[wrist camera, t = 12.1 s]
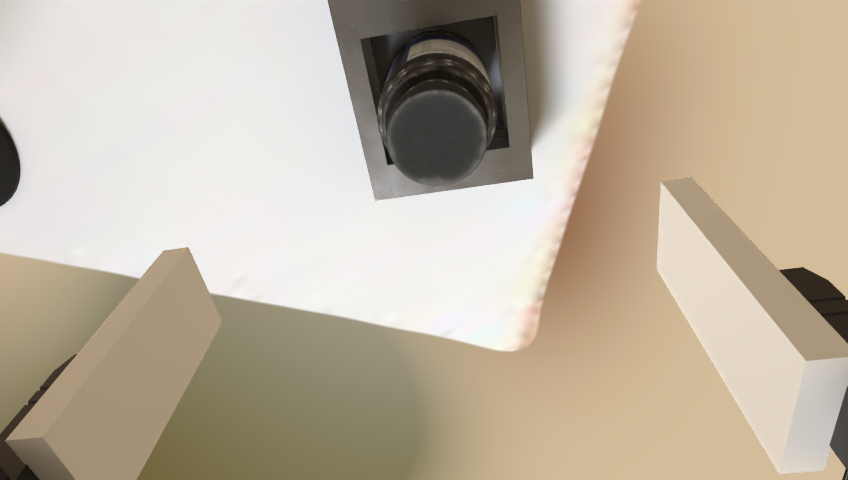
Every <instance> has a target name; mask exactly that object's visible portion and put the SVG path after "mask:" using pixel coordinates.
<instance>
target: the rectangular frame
mask: <svg viewBox="0 0 848 480" xmlns="http://www.w3.org/2000/svg"><path fill="white" fill-rule="evenodd" d="M328 4H329V8H330V12H331V17H332V21H333V25H334V29H335V33H336V38H337V42H338V46H339V50H340V54H341V59H342V63H343V67H344V71H345V75H346V80H347V84H348V88H349V92H350V96H351V101H352V105H353V109H354V113H355V117H356V122H357V126H358V130H359V134H360V138H361V143H362V147H363V151H364V155H365V159H366V164H367V168H368V172H369V176H370V180H371V185H372V189H373V193H374V197H375V201H376V200H383V199H390V198H397V197H404V196H412V195H419V194H426V193H433V192H440V191H447V190H454V189H462V188H469V187H476V186H483V185H490V184H497V183H504V182H512V181H519V180H526V179H533V167H532V154H531V141H530V127H529V114H528V101H527V88H526V74H525V61H524V48H523V35H522V21H521V8H520V0H328ZM489 16H493V20H494V30H495V40H496V50H497V60H498V70H499V80H500V90H501V100H502V110H503V120H504V128H501V129H495V133H494V135H493V138H492V141H491V142H490V144H489V146H488V148H487V149H486V152H485V154H484V157H483V159H482V161H481V162H480V164H479V165H478V167H477V168H476V169H475V170H474V171H473V172H472V173H471V174H470V175H469V176H467V177H466V178H464V179H463V180H460V181H459V182H456V183H454V184H451V185H446V186H428V185H424V184H420V183H417V182H415V181H413V180H411V179H409V178H408V177H406V176H405V175H403V173H402V172H400V171H399V170H398V168H397V167H396V166H395V164H394V163H393V161H392V160H391V157H390V155H389V152H388V149H387V147H386V146H385V144H384V142H383V140H382V137H381V135H380V132H379V129H378V122H377V109H378V104H379V99H380V96H381V90H380V85H379V80H378V75H377V70H376V66H375V61H374V56H373V51H372V47H371V42H370V37H375V36H380V35H386V34H392V33H398V32H403V31H409V30H415V29H420V28H426V27H432V26H438V25H443V24H449V23H455V22H461V21H466V20H472V19H478V18H484V17H489Z"/></svg>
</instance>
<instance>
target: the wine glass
mask: <svg viewBox="0 0 848 480" xmlns="http://www.w3.org/2000/svg"><path fill="white" fill-rule="evenodd" d="M19 177H20V166H19V160H18V156H17V152H16V149H15V147H14V144H13V142H12V140H11V138H10V136H9V135H8V133H7V131H6V130H5V128H4V127H3V125H2V124H1V123H0V206H2V205H3V204H5V203H6V202H7V201H8V200H9V199H10V198H12V196H13V194H14V193H15V191H16V189H17V186H18V183H19Z"/></svg>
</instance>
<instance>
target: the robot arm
mask: <svg viewBox="0 0 848 480" xmlns="http://www.w3.org/2000/svg"><path fill="white" fill-rule="evenodd" d="M657 271H658V272H659V274H660V276H661V277H662V279H663V281H664V282H665V284H666V286H667V287H668V289H669V291H670V292H671V294H672V296H673V297H674V299H675V300H676V302H677V304H678V306H679V307H680V309H681V311H682V312H683V314H684V316H685V317H686V319H687V321H688V322H689V324H690V326H691V327H692V329H693V331H694V332H695V334H696V336H697V337H698V339H699V341H700V342H701V344H702V346H703V348H704V349H705V351H706V352H707V354H708V356H709V357H710V359H711V361H712V363H713V364H714V366H715V368H716V369H717V371H718V373H719V374H720V376H721V377H722V379H723V381H724V383H725V384H726V386H727V387H728V389H729V391H730V393H731V394H732V396H733V398H734V399H735V401H736V403H737V404H738V406H739V408H740V409H741V411H742V413H743V414H744V416H745V418H746V419H747V421H748V423H749V424H750V426H751V428H752V429H753V431H754V433H755V434H756V436H757V438H758V439H759V441H760V443H761V445H762V446H763V448H764V450H765V451H766V453H767V454H768V456H769V458H770V460H771V461H772V463H773V465H774V466H775V468H776V470H777V471H778V473H779V474H783V473H797V472H810V471H822V470H825V466H826V463H827V460H828V457H829V454H830V450H831V448H832V450H833V451H834V452H835V454H836V455H837V457H838V458H839V459H840V461H841V462H842V463H843V465H844V466H845V468H846V470H845V473H844V476H843V479H842V480H848V300H846V299H845V296H844V295H843V294H842V293H841V292H840V291H839V290H838V289H837V288H836V287H834V286H833V284H831V283H830V282H829V281H828V280H827V279H825V278H822V277H821V276H819V275H817V274H815V273H813V272H811V271H809V270H807V269H805V268H803V267H802V268H793V269H784V270H778V269H777V268H776V267H775V266H774V265H773V264H772V263H771V262H770V260H769V259H768V258H767V257H766V256H765V255H764V254H763V253H762V252H761V251H760V250H759V249H758V248H757V247H756V245H755V244H753V242H752V241H751V240H750V239H749V238H748V237H747V236H746V235H745V234H744V233H743V232H742V231H741V229H740V228H738V226H737V225H736V224H735V223H734V222H733V221H732V220H731V219H730V218H729V217H728V216H727V215H726V214H725V212H724V211H723V210H722V209H721V208H720V207H719V206H718V205H717V204H716V203H715V202H714V201H713V200H712V199H711V198H710V197H709V195H708V194H707V193H706V192H705V191H704V190H703V189H702V188H701V187H700V186H699V185H698V184H697V183H696V182H695V181H694V180H693V178H684V179H678V180H670V181H663V182H661V191H660V211H659V233H658V251H657ZM221 323H222V320H221V317H220V315H219V313H218V311H217V309H216V307H215V304H214V302H213V301H212V298H211V296H210V293H209V291H208V289H207V287H206V285H205V283H204V280H203V278H202V276H201V274H200V272H199V269H198V267H197V265H196V263H195V261H194V259H193V256H192V254H191V252H190V250H189V248H188V247H187V248H180V249H173V250H166V251H163V252H162V253H161V254H160V256H159V257H158V258H157V259H156V260H155V262H154V263H153V264H152V265H151V266H150V268H149V269H148V270H147V271H146V272H145V274H144V275H143V276H142V277H141V278H140V280H139V281H138V282H137V283H136V284H135V286H134V287H133V288H132V289H131V290H130V292H129V293H128V294H127V295H126V296H125V298H124V299H123V300H122V301H121V302H120V304H119V305H118V306H117V307H116V309H115V310H114V311H113V312H112V313H111V314H110V316H109V317H108V318H107V319H106V320H105V322H104V323H103V324H102V325H101V326H100V328H99V329H98V330H97V331H96V333H95V334H94V335H93V336H92V337H91V338H90V340H89V341H88V342H87V343H86V344H85V345H84V347H83V348H82V349H81V350H80V352H79V353H78V354H75V355H74V356H73V357H71V358H70V359H69V360H67V361H66V362H65V363H64V364H62V365H61V366H60V367H59V368H57V369H56V370H55V371H54V372H53V373H52V374H51V375H50V376H49V378H48V379H47V380H46V381H45V383H44V384H43V385H42V386H41V387H40V391H37V392H36V393H35V394H34V395H33V396H32V398H31V399H30V400H29V401H28V405H25V406H24V407H23V408H22V409H21V411H20V412H19V413H18V414H17V415H16V417H14V419H13V420H12V421H11V422H10V423H9V425H8V426H7V427H6V428H5V429H4V430H3V432H2V433H1V434H0V480H136V479H137V478H138V476H139V474H140V472H141V470H142V468H143V466H144V465H145V463H146V461H147V459H148V457H149V455H150V454H151V452H152V450H153V448H154V446H155V445H156V443H157V441H158V439H159V437H160V435H161V434H162V432H163V430H164V428H165V426H166V424H167V423H168V421H169V419H170V417H171V415H172V413H173V412H174V410H175V408H176V406H177V404H178V402H179V400H180V399H181V397H182V395H183V393H184V391H185V390H186V388H187V386H188V384H189V382H190V380H191V378H192V377H193V375H194V373H195V371H196V369H197V367H198V365H199V364H200V362H201V360H202V358H203V356H204V355H205V353H206V351H207V349H208V347H209V345H210V344H211V342H212V340H213V338H214V336H215V334H216V333H217V331H218V329H219V327H220V325H221Z"/></svg>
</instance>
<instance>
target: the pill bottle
mask: <svg viewBox="0 0 848 480" xmlns="http://www.w3.org/2000/svg"><path fill="white" fill-rule="evenodd" d="M377 122H378V129H379V132H380V135H381V137H382V140H383V142H384V144H385V146H386V147H387V149H388V152H389V155H390V157H391V160H392V161H393V163H394V164H395V166H396V167H397V168H398V170H399V171H400V172H402V173H403V175H405V176H406V177H408V178H409V179H411V180H413V181H415V182H417V183H420V184H424V185H428V186H446V185H451V184H454V183H456V182H459V181H460V180H463V179H464V178H466V177H467V176H469V175H470V174H471V173H472V172H473V171H474V170H475V169H476V168H477V167H478V165H479V164H480V162H481V161H482V159H483V157H484V154H485V152H486V149H487V148H488V146H489V144H490V142H491V141H492V138H493V135H494V133H495V129H496V124H497V105H496V101H495V97H494V94H493V91H492V88H491V85H490V81H489V78H488V75H487V72H486V69H485V66H484V63H483V60H482V58H481V56H480V54H479V53H478V52H477V50H476V49H475V48H474V47H473V46H472V45H471V44H470V43H469V42H468V41H467V40H466V39H464V38H462V37H460V36H458V35H456V34H454V33H450V32H443V31H429V32H427V33H423V34H421V35H418V36H416V37H414V38H413V39H412V40H411V41H409V42H407V43H406V44H405V45H404V46H403V47H402V48H401V49H400V50H399V51H398V53H397V54H396V56H395V58H394V60H393V62H392V65H391V68H390V70H389V73H388V76H387V79H386V82H385V85H384V87H383V90H382V93H381V96H380V99H379V104H378V109H377Z"/></svg>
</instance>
